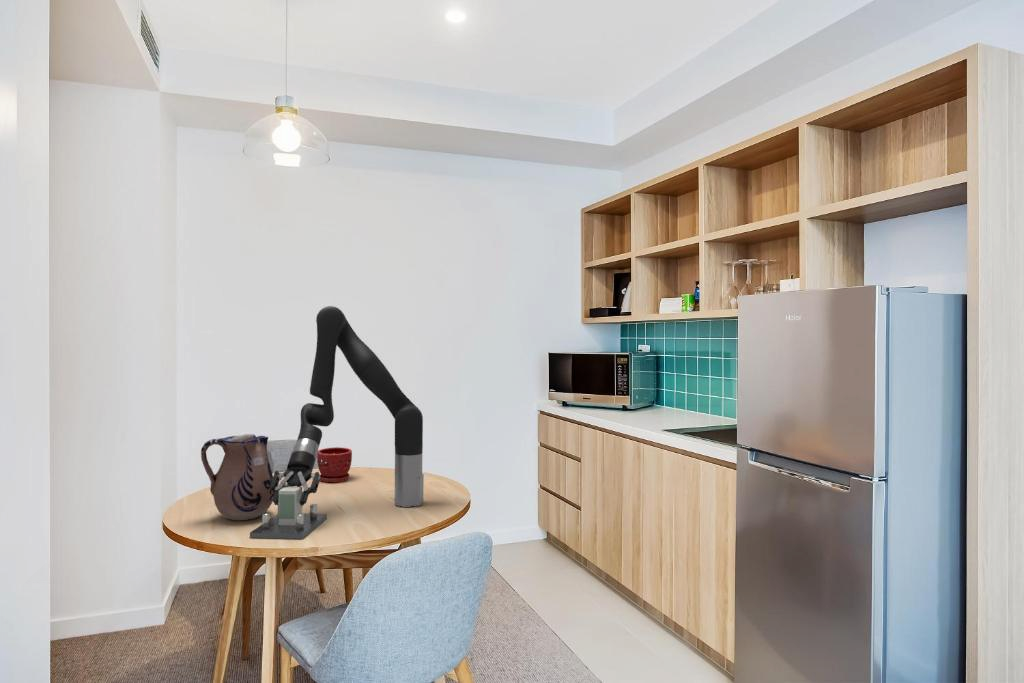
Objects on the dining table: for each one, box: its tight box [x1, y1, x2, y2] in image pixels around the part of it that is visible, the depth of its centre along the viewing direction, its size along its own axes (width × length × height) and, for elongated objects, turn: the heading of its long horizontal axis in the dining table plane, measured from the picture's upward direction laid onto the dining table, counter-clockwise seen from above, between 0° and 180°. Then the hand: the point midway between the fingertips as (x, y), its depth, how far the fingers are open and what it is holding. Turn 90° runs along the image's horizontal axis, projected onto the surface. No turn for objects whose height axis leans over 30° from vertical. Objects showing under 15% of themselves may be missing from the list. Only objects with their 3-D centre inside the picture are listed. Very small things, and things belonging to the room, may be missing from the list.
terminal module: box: [278, 486, 303, 525], centre depth 186 cm, size 5×5×10 cm
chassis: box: [249, 503, 328, 540], centre depth 186 cm, size 15×20×6 cm
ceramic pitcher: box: [200, 433, 275, 521], centre depth 196 cm, size 18×21×25 cm
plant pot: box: [316, 446, 353, 483], centre depth 247 cm, size 13×13×12 cm
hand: (288, 503), depth 184 cm, fingers open, 7 cm apart
